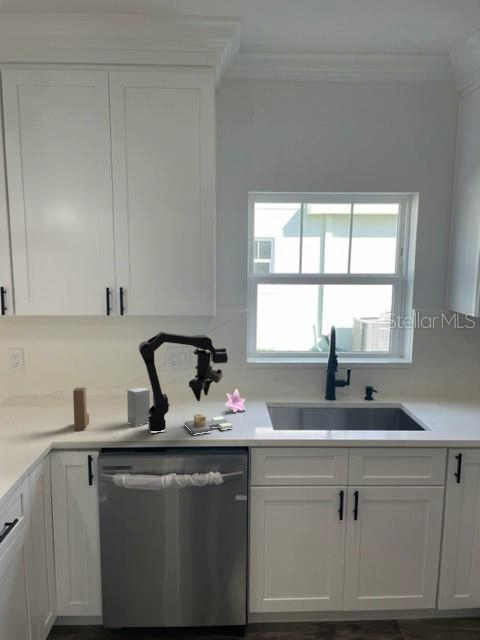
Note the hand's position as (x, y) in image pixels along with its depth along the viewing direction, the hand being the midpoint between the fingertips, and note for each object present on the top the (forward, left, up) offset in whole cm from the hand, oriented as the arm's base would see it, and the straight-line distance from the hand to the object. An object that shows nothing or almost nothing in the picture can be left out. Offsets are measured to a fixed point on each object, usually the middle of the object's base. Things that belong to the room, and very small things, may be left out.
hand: (202, 398), depth 194 cm
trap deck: (+2, -3, -13) cm, 13 cm away
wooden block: (-49, +19, -13) cm, 55 cm away
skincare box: (-25, +14, -13) cm, 32 cm away
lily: (+22, +12, -13) cm, 28 cm away
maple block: (-2, -3, -11) cm, 12 cm away
